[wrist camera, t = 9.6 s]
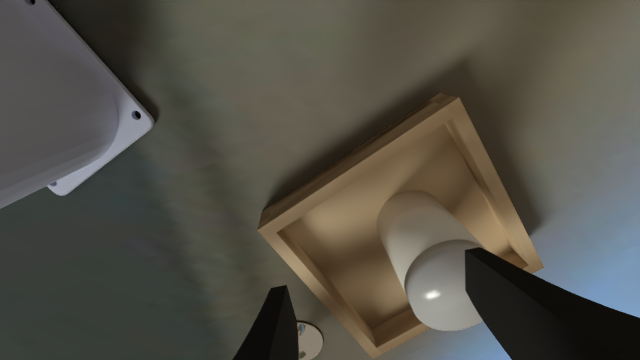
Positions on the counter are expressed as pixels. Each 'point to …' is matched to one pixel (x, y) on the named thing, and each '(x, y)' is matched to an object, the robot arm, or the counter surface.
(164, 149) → the counter surface
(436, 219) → the shaker
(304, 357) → the wineglass
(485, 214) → the tray
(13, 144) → the robot arm
